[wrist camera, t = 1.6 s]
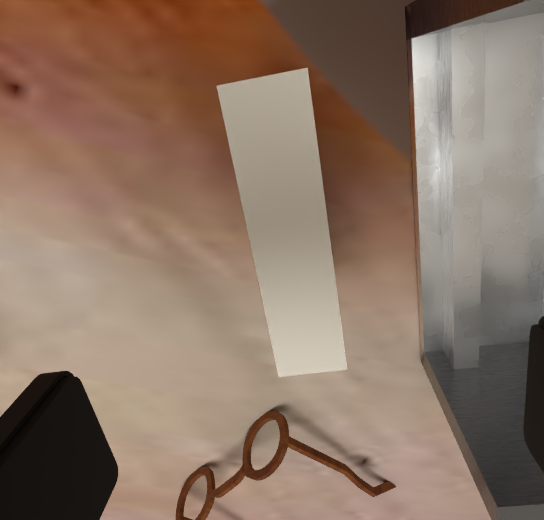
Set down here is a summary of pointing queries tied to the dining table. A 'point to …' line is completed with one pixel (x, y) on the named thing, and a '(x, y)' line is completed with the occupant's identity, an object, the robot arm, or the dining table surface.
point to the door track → (480, 227)
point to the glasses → (267, 467)
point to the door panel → (286, 217)
